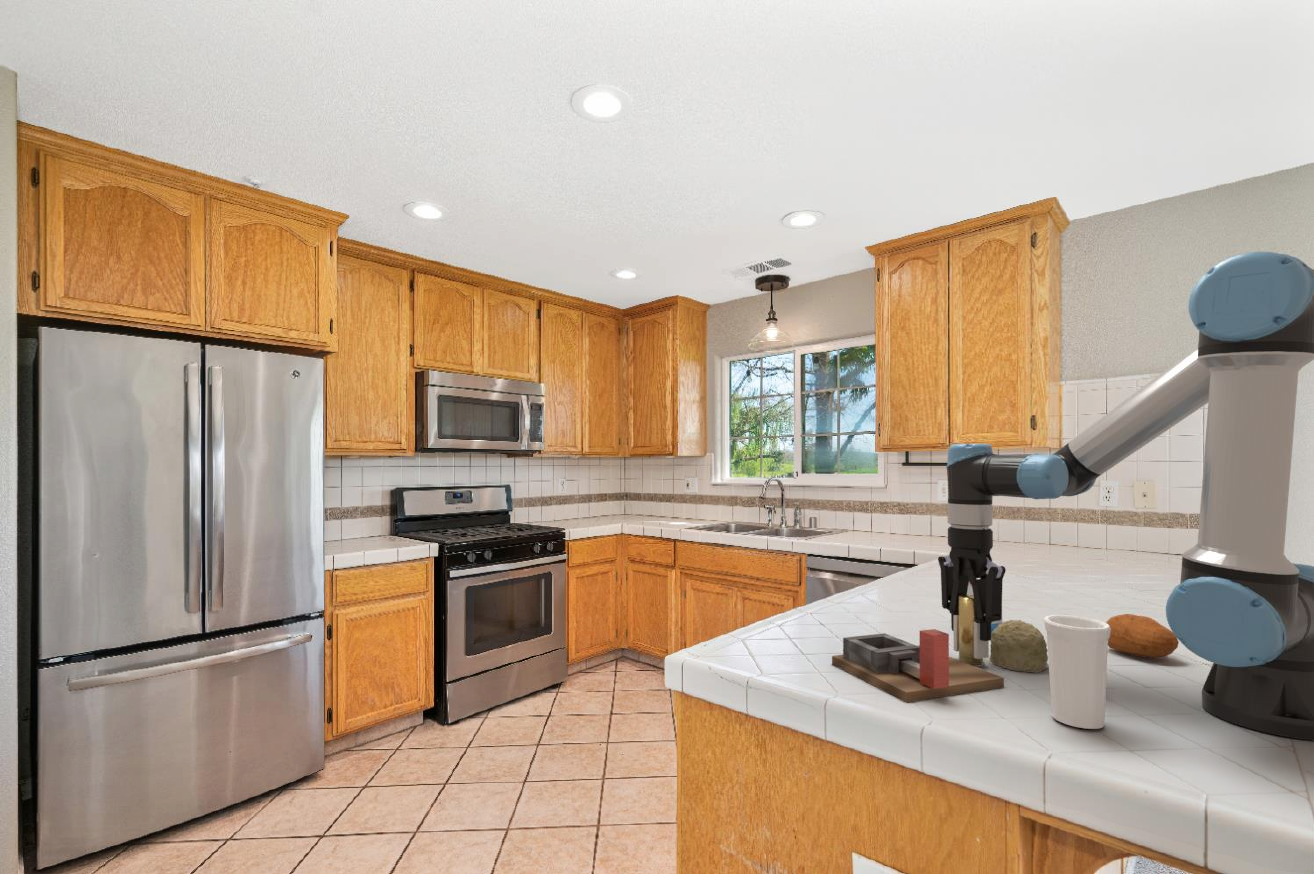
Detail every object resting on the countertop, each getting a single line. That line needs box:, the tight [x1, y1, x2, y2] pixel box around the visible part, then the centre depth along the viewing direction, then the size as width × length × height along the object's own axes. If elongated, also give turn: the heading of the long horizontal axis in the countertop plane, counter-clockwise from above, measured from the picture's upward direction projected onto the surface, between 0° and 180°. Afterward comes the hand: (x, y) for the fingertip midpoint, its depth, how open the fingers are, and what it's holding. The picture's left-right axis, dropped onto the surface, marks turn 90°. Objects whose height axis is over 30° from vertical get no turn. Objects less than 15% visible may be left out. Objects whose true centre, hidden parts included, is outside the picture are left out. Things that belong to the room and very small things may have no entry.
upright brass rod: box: [958, 595, 984, 667], centre depth 117 cm, size 4×4×12 cm
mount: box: [831, 632, 1005, 703], centre depth 110 cm, size 19×20×5 cm
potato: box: [1105, 613, 1180, 659], centre depth 122 cm, size 9×11×8 cm
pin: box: [899, 628, 950, 689], centre depth 104 cm, size 10×3×8 cm, turn 20°
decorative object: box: [989, 619, 1049, 673], centre depth 117 cm, size 9×10×10 cm
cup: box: [1043, 614, 1111, 730], centre depth 91 cm, size 8×8×14 cm
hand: (970, 653), depth 117 cm, fingers closed on upright brass rod, 4 cm apart
